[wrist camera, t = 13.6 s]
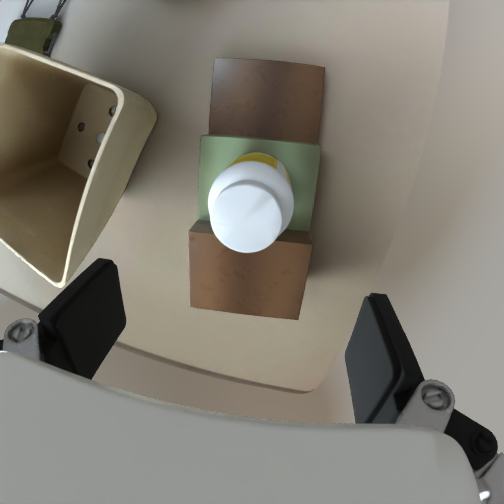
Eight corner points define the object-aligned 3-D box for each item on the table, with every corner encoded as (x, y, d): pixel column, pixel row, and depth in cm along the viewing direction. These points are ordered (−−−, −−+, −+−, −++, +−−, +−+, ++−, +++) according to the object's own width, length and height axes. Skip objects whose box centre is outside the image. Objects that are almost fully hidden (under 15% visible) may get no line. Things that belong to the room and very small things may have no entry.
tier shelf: (322, 70, 28) (336, 53, 20) (295, 279, 40) (298, 320, 32) (218, 61, 29) (198, 43, 21) (207, 269, 40) (189, 307, 32)
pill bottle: (215, 165, 29) (179, 192, 18) (275, 141, 27) (273, 152, 17) (241, 222, 31) (221, 276, 21) (299, 200, 30) (310, 247, 19)
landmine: (-8, 64, 25) (24, -14, 19) (2, 64, 28) (34, -12, 22) (35, 71, 27) (76, -20, 21) (46, 71, 29) (85, -15, 23)
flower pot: (196, 102, 31) (128, 91, 16) (133, 229, 39) (62, 293, 24) (85, 53, 28) (-4, 40, 13) (42, 170, 36) (-39, 203, 21)
